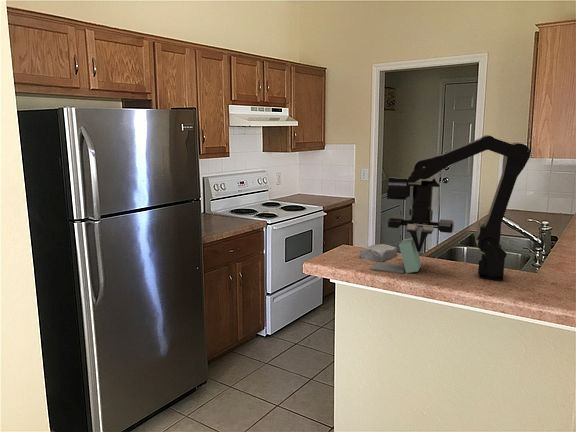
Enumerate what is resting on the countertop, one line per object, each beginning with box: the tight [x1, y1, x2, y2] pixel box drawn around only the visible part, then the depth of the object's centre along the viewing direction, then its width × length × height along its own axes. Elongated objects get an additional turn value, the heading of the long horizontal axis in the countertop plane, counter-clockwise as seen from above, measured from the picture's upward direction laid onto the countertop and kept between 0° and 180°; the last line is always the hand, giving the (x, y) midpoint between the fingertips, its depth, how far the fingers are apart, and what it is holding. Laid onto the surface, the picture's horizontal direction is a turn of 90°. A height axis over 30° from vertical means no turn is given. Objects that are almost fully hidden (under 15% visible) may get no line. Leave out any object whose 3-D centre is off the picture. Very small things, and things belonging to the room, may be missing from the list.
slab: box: [398, 237, 422, 274], centre depth 147 cm, size 4×7×9 cm, turn 156°
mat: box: [370, 261, 406, 274], centre depth 150 cm, size 10×8×1 cm
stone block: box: [359, 243, 398, 263], centre depth 163 cm, size 12×5×10 cm
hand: (419, 251), depth 146 cm, fingers closed
